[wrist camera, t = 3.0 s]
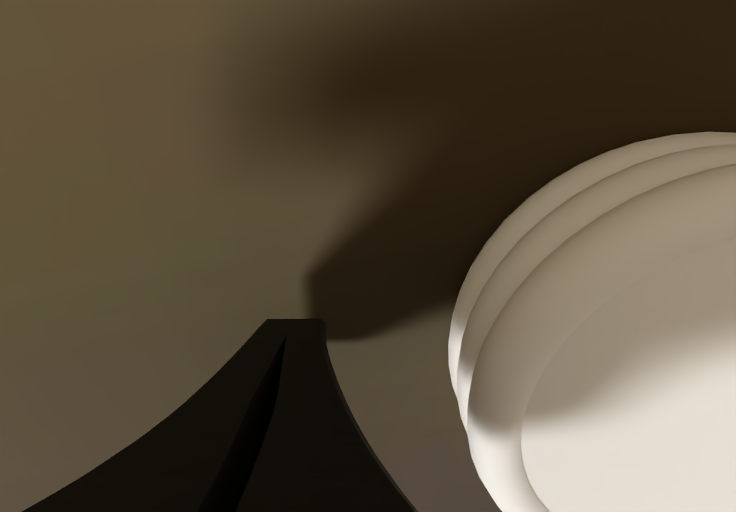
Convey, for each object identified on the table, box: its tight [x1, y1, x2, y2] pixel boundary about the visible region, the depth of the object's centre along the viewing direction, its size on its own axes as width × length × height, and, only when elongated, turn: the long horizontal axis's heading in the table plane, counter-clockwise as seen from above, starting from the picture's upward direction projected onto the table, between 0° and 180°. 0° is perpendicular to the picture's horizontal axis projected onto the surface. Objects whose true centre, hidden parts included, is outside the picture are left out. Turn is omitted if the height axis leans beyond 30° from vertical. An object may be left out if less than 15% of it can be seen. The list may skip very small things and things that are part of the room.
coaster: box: [448, 132, 736, 512], centre depth 10 cm, size 10×10×4 cm
